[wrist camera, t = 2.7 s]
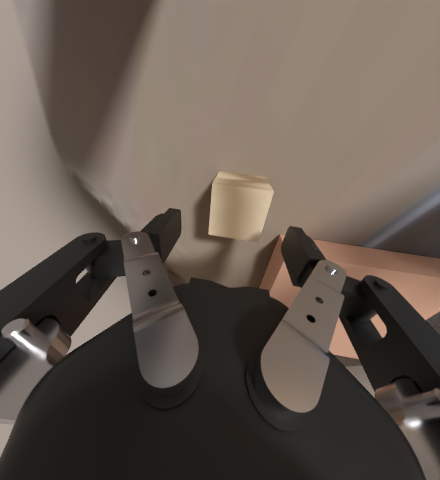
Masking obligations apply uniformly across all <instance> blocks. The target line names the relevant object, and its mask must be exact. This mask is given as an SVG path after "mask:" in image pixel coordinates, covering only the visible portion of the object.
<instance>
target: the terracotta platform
mask: <svg viewBox="0 0 440 480" xmlns="http://www.w3.org/2000/svg"><path fill="white" fill-rule="evenodd" d="M284 237H285V235H281V234H280V235H279V238H278V240H277V243H276V246H275V248H274V251H273V253H272V256H271V259H270V261H269V264H268V266H267V269H266V272H265V274H264V277H263V279H262V282H261V285H260V287H259V288H260V289H266V290H269V293H270V297H272V298H274V299H276V300H278V301H280V302H281V303H283V304H284V305H286V306H287V307H288V308H290V306H291V304H292V303H293V301H294V300H295V298H296V297H297V295H298V293H299V292H300V290H301V287H296V286H293V285H292V282H291V279H290V276H289V273H288V270H287V268H286V265H285V262H284V259H283V256H282V253H281V244H282V242H283V239H284ZM312 240H313V241H314V242H315V244H316V246H317V247H318V248H319V250H320V251H321V252H322V254H323V255H324V257H325V258H326V260H328V261H331V262H334V263H336V264H338V265H339V266H341V267H342V268H343V269H344V270H345V271H346V274H347V276H349V277H352V278H354V279H357V280H360V281H361V280H362V279H363V278H364V277H365V276H366V275H372V276H376V277H379V278H381V279H383V280H385V281H387V282H388V283H390V284H391V285H392V286H394V287H395V288H396V289H397V291H398V292H399V293H400V294H401V295H402V296H403V297H404V298H405V299H406V300H407V301H408V302H409V303H410V304H411V305H412V306H413V308H414V309H415V310H416V311H417V312H418V313H419V314H420V315H421V316H422V317H423V318H424V319H425V320H427V319H428V318H430V317H432V316H433V315H435V314H436V313H438V312H440V259H439V258H432V257H426V256H419V255H413V254H406V253H400V252H393V251H386V250H380V249H373V248H367V247H360V246H353V245H347V244H340V243H334V242H327V241H320V240H314V239H312ZM370 320H371V321H372V323H373V324H374V326H375V327H376V329H377V330H378V332H379V333H380V335H381V337H382V338H383V337H385V335H386V333H387V329H386V326H385V324H384V323H383V321H382V320H381V319H380V317H379V316H378V314H376V315H375V316H374V317H373V318H371V319H370ZM329 351H330V352H331V353H332V354H333V355H339V356H344V357H350V358H356V359H359V358H358V356H357V354H356V352H355V350H354V348H353V346H352V343H351V341H350V339H349V337H348V335H347V333H346V331H345V329H344V327H343V325H342V323H341V321H340V319H339V317H338V321H337V324H336V327H335V331H334V334H333V338H332V341H331V344H330V348H329Z"/></svg>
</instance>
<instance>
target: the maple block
mask: <svg viewBox="0 0 440 480" xmlns="http://www.w3.org/2000/svg"><path fill="white" fill-rule="evenodd" d="M273 193H274V191H273V189H272V187H271V186H270V184H269V182H268V180H267V178H266V177H258V176H251V175H244V174H237V173H230V172H222V171H219V173H218V175H217V176H216V178H215V179H214V181H213V183H212V193H211V206H210V220H209V233H208V235H215V236H221V237H227V238H234V239H240V240H247V241H253V242H259V239H260V236H261V233H262V229H263V226H264V223H265V219H266V216H267V213H268V210H269V206H270V203H271V200H272V196H273Z"/></svg>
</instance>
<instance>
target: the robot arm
mask: <svg viewBox="0 0 440 480" xmlns="http://www.w3.org/2000/svg"><path fill="white" fill-rule="evenodd" d="M180 234H181V211H180V210H179V209H173V208H169V209H168V210H167V211H166V212H165V213H164V214H159V215H157V216H155V217H154V218H153V219H152V220H151V221H150V222H149V223H148V224H147V225H146V226H145V227H144V228H143V229H142V230H141V231H140V232H131V233H128V234H126V235H125V236H123V237H122V239H121V240H113V241H107V240H106V237H105V235H104V234H102V233H87V234H84V235H81V236H79V237H77V238H75V239H74V240H72V241H71V242H70V243H68V244H67V245H65V246H64V247H62V248H61V249H59V250H58V251H57V252H55V253H54V254H53V255H51V256H49V257H48V258H47V259H45V260H44V261H42V262H41V263H39V264H38V265H37V266H35V267H34V268H32V269H31V270H29V271H28V272H26V273H25V274H23V275H22V276H21V277H19V278H18V279H16V280H15V281H13V282H12V283H10V284H9V285H8V286H6V287H5V288H3V289H2V290H0V423H2V424H14V426H13V429H12V432H11V434H10V437H9V439H8V442H7V444H6V446H5V448H4V450H3V453H2V455H1V457H0V480H440V335H439V334H438V333H437V332H436V331H435V330H434V329H433V328H432V327H431V326H430V324H429V323H428V322H427V321H426V320H425V319H424V318H423V317H422V316H421V315H420V314H419V313H418V312H417V311H416V310H415V309H414V308H413V306H412V305H411V304H410V303H409V302H408V301H407V300H406V299H405V298H404V297H403V296H402V295H401V294H400V293H399V292H398V291H397V289H396V288H395V287H394V286H392V285H391V284H390V283H388V282H387V281H385V280H383V279H381V278H379V277H376V276H372V275H366V276H365V277H364V278H363V279H362V280H361V281H360V280H357V279H354V278H352V277H349V276H347V274H346V271H345V270H344V269H343V268H342V267H341V266H339V265H338V264H336V263H334V262H331V261H328V260H326V258H325V257H324V255H323V254H322V252H321V251H320V250H319V248H318V247H317V246H316V244H315V242H314V241H313V240H312V239H311V238H310V237H308V236H307V235H306V234H305V233H304V231H303V230H302V228H298V227H292V226H290V227H289V228H288V230H287V232H286V235H285V237H284V239H283V242H282V244H281V253H282V256H283V259H284V262H285V265H286V268H287V270H288V273H289V276H290V279H291V282H292V285H293V286H296V287H301V290H300V292H299V293H298V295H297V297H296V298H295V300H294V301H293V303H292V304H291V306H290V308H288V307H287V306H286V305H284V304H283V303H281V302H280V301H278V300H276V299H274V298H272V297H270V293H269V290H266V289H260V288H253V287H239V288H228V287H225V286H223V285H220V284H218V283H215V282H212V281H209V280H203V279H197V278H191V280H190V283H189V284H181V285H178V286H175V287H173V286H172V284H171V281H170V279H169V277H168V275H167V272H166V270H165V267H164V265H163V264H164V262H165V260H166V259H167V257H168V255H169V254H170V252H171V250H172V249H173V247H174V245H175V243H176V242H177V240H178V238H179V237H180ZM85 268H86V269H87V271H88V272H87V273H86V275H84V276H83V277H82V278H81V279H80V280H79V281H78V282H77V283H76V278H77V276H78V275H79V274H80V273H81V272H82V271H83V270H84V269H85ZM118 276H126V280H127V287H128V293H129V298H130V304H131V311H132V313H131V314H129V315H127V316H126V317H124V318H123V319H121V320H120V321H118V322H117V323H115V324H114V325H112V326H110V327H109V328H107V329H106V330H104V331H103V332H101V333H100V334H98V335H96V336H95V337H93V338H92V339H90V340H89V341H87V342H86V343H84V344H82V345H81V346H79V347H78V348H76V349H75V350H73V351H72V352H70V353H69V354H67V352H68V350H69V348H70V346H71V336H72V334H73V333H74V332H75V330H76V329H77V328H78V327H79V325H80V324H81V323H82V321H83V320H84V319H85V317H86V316H87V315H88V314H89V312H90V311H91V310H92V308H93V307H94V306H95V305H96V303H97V302H98V300H99V299H100V298H101V297H102V295H103V294H104V293H105V291H106V290H107V289H108V288H109V286H110V285H111V284H112V282H113V281H114V280H115V279H116V277H118ZM376 314H378V316H379V317H380V319H381V320H382V321H383V323H384V324H385V326H386V329H387V333H386V335H385V337H383V338H382V337H381V335H380V333H379V332H378V330H377V329H376V327H375V326H374V324H373V323H372V321H371V320H370V319H371V318H373V317H374V316H375V315H376ZM338 317H339V319H340V321H341V323H342V325H343V327H344V329H345V331H346V333H347V335H348V337H349V339H350V341H351V343H352V346H353V348H354V350H355V352H356V354H357V356H358V358H359V360H360V362H361V364H362V366H363V368H364V370H365V373H366V374H367V377H368V379H369V381H370V383H371V385H372V387H373V389H374V391H375V398H374V397H373V396H372V395H371V394H370V393H369V392H368V391H367V390H366V389H365V387H364V386H363V385H362V384H361V383H360V382H359V381H358V380H357V379H356V378H355V377H354V376H353V375H352V374H351V373H350V372H349V371H348V370H347V369H346V368H345V366H344V365H343V364H342V363H341V362H340V361H339V360H338V359H337V358H336V357H335V356H334V355H333V354H332V353H331V352H330V351H329V348H330V344H331V341H332V338H333V334H334V331H335V327H336V324H337V321H338ZM66 354H67V355H66Z"/></svg>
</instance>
